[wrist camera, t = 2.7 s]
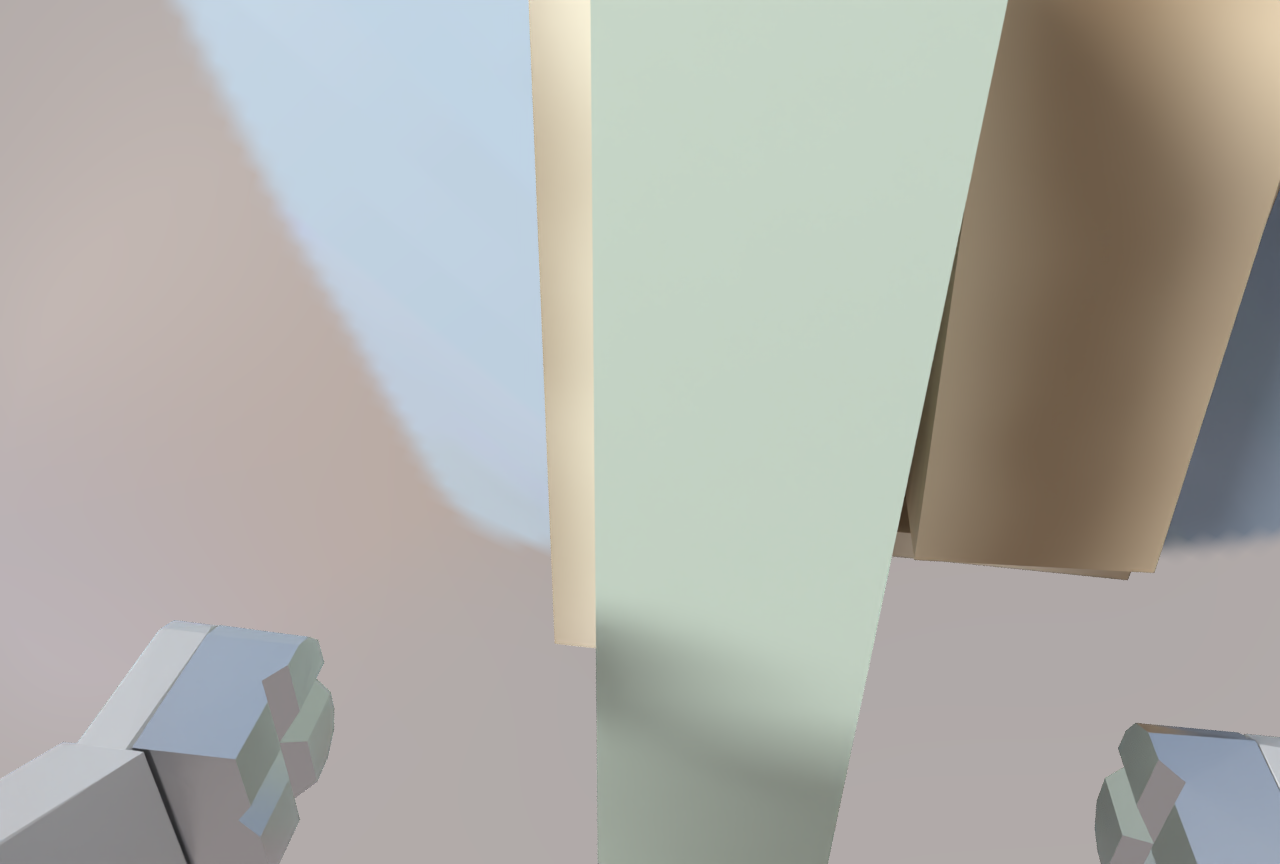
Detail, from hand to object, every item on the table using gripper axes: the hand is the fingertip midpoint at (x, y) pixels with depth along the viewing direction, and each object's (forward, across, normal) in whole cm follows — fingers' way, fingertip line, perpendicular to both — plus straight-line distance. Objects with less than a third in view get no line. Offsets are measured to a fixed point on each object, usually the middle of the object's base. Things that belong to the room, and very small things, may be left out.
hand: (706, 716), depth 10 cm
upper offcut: (+14, -6, 0) cm, 16 cm away
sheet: (+18, 0, 0) cm, 18 cm away
